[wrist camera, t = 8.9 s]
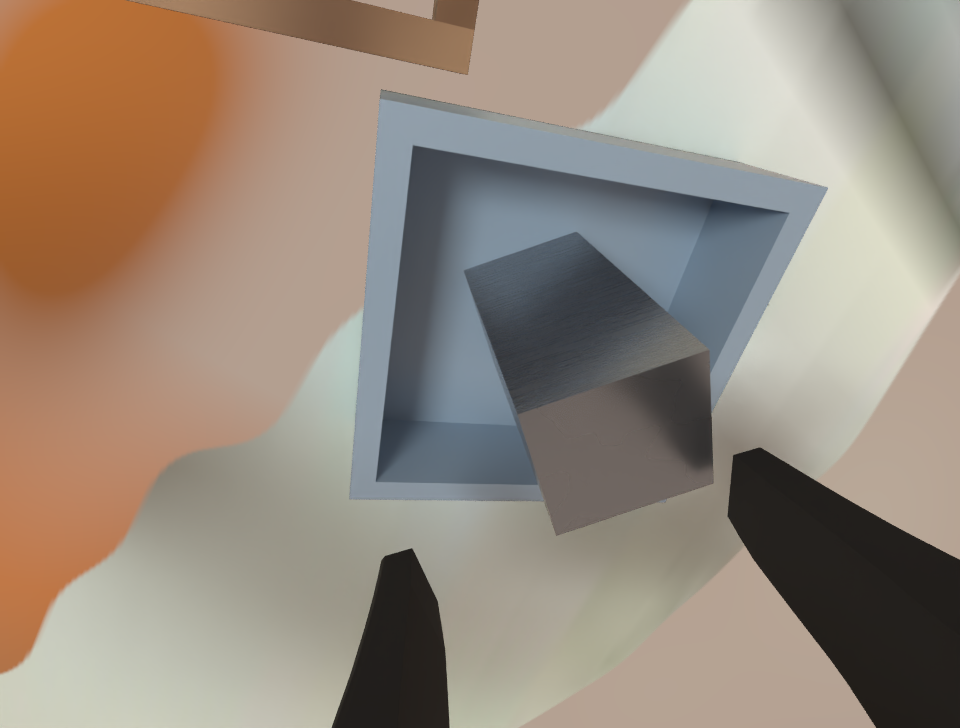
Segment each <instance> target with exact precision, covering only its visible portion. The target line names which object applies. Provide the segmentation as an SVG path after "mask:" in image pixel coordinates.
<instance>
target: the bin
mask: <svg viewBox="0 0 960 728" xmlns="http://www.w3.org/2000/svg"><path fill="white" fill-rule="evenodd" d="M827 189H828V188H827V187H824V186H820V185H817V184H813V183H810V182H806V181H803V180H799V179H796V178H792V177H789V176H785V175H782V174H778V173H775V172H771V171H768V170H764V169H761V168H757V167H754V166H750V165H747V164H743V163H740V162H735V161H730V160H726V159H721V158H716V157H711V156H706V155H701V154H696V153H691V152H686V151H681V150H676V149H671V148H667V147H662V146H657V145H652V144H647V143H642V142H637V141H632V140H627V139H622V138H617V137H612V136H608V135H603V134H598V133H593V132H588V131H583V130H578V129H573V128H568V127H563V126H558V125H553V124H549V123H544V122H538V121H533V120H529V119H524V118H518V117H514V116H509V115H504V114H499V113H494V112H490V111H485V110H480V109H475V108H470V107H465V106H460V105H455V104H450V103H445V102H440V101H435V100H430V99H426V98H420V97H416V96H410V95H406V94H401V93H396V92H391V91H386V90H381V94H380V104H379V117H378V131H377V143H376V156H375V169H374V183H373V196H372V209H371V222H370V235H369V248H368V261H367V274H366V288H365V301H364V314H363V327H362V340H361V353H360V366H359V379H358V393H357V406H356V419H355V432H354V445H353V458H352V472H351V485H350V498H349V499H378V500H478V501H544V500H543V497H542V494H541V491H540V489H539V486H538V483H537V480H536V478H535V475H534V472H533V469H532V467H531V464H530V461H529V458H528V456H527V453H526V450H525V447H524V445H523V442H522V439H521V436H520V433H519V431H518V428H517V425H516V422H515V420H514V417H513V414H512V411H511V409H510V406H509V403H508V400H507V398H506V395H505V392H504V389H503V387H502V384H501V381H500V378H499V376H498V373H497V370H496V367H495V364H494V361H493V358H492V355H491V352H490V349H489V346H488V343H487V340H486V337H485V334H484V331H483V328H482V325H481V322H480V319H479V316H478V313H477V310H476V307H475V304H474V301H473V298H472V295H471V292H470V289H469V286H468V283H467V280H466V277H465V274H464V271H463V270H466V269H469V268H471V267H474V266H477V265H480V264H483V263H486V262H489V261H492V260H495V259H498V258H501V257H504V256H506V255H509V254H512V253H515V252H518V251H521V250H524V249H527V248H530V247H533V246H536V245H538V244H541V243H544V242H547V241H550V240H553V239H556V238H559V237H562V236H565V235H568V234H570V233H573V232H576V231H577V232H578V233H579V234H580V235H581V236H582V237H583V238H584V239H586V240H587V241H588V242H589V243H590V244H591V245H592V246H593V247H595V248H596V249H597V250H598V251H599V252H600V253H601V254H602V255H604V256H605V257H606V258H607V259H608V260H609V261H610V262H611V263H613V264H614V265H615V266H616V267H617V268H618V269H619V270H620V271H622V272H623V273H624V274H625V275H626V276H627V277H628V278H629V279H631V280H632V281H633V282H634V283H635V284H636V285H637V286H638V287H640V288H641V289H642V290H643V291H644V292H645V293H646V294H647V295H649V296H650V297H651V298H652V299H653V300H654V301H655V302H656V303H658V304H659V305H660V306H661V307H662V308H663V309H664V310H665V311H667V312H668V313H669V314H670V315H671V316H672V317H673V318H674V319H676V320H677V321H678V322H679V323H680V324H681V325H682V326H683V327H685V328H686V329H687V330H688V331H689V332H690V333H691V334H692V335H694V336H695V337H696V338H697V339H698V340H699V341H700V342H701V343H703V344H704V345H705V346H706V347H707V348H708V349H709V350H710V384H711V413H712V411H713V409H714V407H715V405H716V403H717V401H718V400H719V398H720V396H721V394H722V392H723V390H724V388H725V386H726V384H727V382H728V380H729V378H730V376H731V374H732V373H733V371H734V369H735V367H736V365H737V363H738V361H739V359H740V357H741V355H742V353H743V351H744V349H745V348H746V346H747V344H748V342H749V340H750V338H751V336H752V334H753V332H754V330H755V328H756V326H757V324H758V322H759V321H760V319H761V317H762V315H763V313H764V311H765V309H766V307H767V305H768V303H769V301H770V299H771V297H772V295H773V294H774V292H775V290H776V288H777V286H778V284H779V282H780V280H781V278H782V276H783V274H784V272H785V270H786V268H787V267H788V265H789V263H790V261H791V259H792V257H793V255H794V253H795V251H796V249H797V247H798V245H799V243H800V241H801V240H802V238H803V236H804V234H805V232H806V230H807V228H808V226H809V224H810V222H811V220H812V218H813V216H814V214H815V213H816V211H817V209H818V207H819V205H820V203H821V201H822V199H823V197H824V195H825V193H826V191H827ZM666 500H667V499H665V500H662V501H659V502H666Z"/></svg>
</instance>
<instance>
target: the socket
mask: <svg viewBox="0 0 960 728" xmlns="http://www.w3.org/2000/svg"><path fill="white" fill-rule="evenodd" d="M127 1H132V2H137V3H141V4H146V5H150V6H155V7H159V8H164V9H169V10H173V11H177V12H182V13H187V14H191V15H196V16H200V17H205V18H209V19H214V20H219V21H223V22H228V23H233V24H237V25H241V26H246V27H250V28H255V29H260V30H264V31H269V32H274V33H278V34H282V35H287V36H291V37H296V38H301V39H305V40H310V41H314V42H319V43H323V44H328V45H333V46H337V47H342V48H347V49H351V50H356V51H360V52H365V53H369V54H374V55H379V56H383V57H387V58H392V59H396V60H401V61H406V62H410V63H415V64H419V65H424V66H429V67H433V68H438V69H442V70H447V71H451V72H456V73H460V74H466V75H467V74H468V69H469V62H470V56H471V50H472V43H473V36H474V30H475V22H476V16H477V10H478V3H479V0H435V1H434V8H433V18H432V20H431V19H427V18H422V17H418V16H414V15H410V14H406V13H402V12H398V11H394V10H389V9H385V8H381V7H377V6H373V5H369V4H364V3H360V2H356V1H352V0H127Z"/></svg>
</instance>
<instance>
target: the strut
mask: <svg viewBox="0 0 960 728" xmlns="http://www.w3.org/2000/svg"><path fill="white" fill-rule="evenodd" d="M463 271H464V274H465V277H466V280H467V283H468V286H469V289H470V292H471V295H472V298H473V301H474V304H475V307H476V310H477V313H478V316H479V319H480V322H481V325H482V328H483V331H484V334H485V337H486V340H487V343H488V346H489V349H490V352H491V355H492V358H493V361H494V364H495V367H496V370H497V373H498V376H499V378H500V381H501V384H502V387H503V389H504V392H505V395H506V398H507V400H508V403H509V406H510V409H511V411H512V414H513V417H514V420H515V422H516V425H517V428H518V431H519V433H520V436H521V439H522V442H523V445H524V447H525V450H526V453H527V456H528V458H529V461H530V464H531V467H532V469H533V472H534V475H535V478H536V480H537V483H538V486H539V489H540V491H541V494H542V497H543V500H544V502H545V505H546V508H547V511H548V514H549V516H550V519H551V522H552V525H553V527H554V530H555V533H556V536H557V535H560V534H563V533H566V532H569V531H572V530H575V529H578V528H581V527H584V526H587V525H590V524H593V523H596V522H599V521H602V520H605V519H608V518H611V517H614V516H617V515H620V514H623V513H626V512H629V511H632V510H635V509H638V508H641V507H644V506H647V505H650V504H653V503H656V502H659V501H662V500H665V499H668V498H671V497H674V496H677V495H680V494H683V493H686V492H689V491H692V490H695V489H698V488H701V487H704V486H707V485H710V484H713V452H712V418H711V384H710V350H709V349H708V348H707V347H706V346H705V345H704V344H703V343H701V342H700V341H699V340H698V339H697V338H696V337H695V336H694V335H692V334H691V333H690V332H689V331H688V330H687V329H686V328H685V327H683V326H682V325H681V324H680V323H679V322H678V321H677V320H676V319H674V318H673V317H672V316H671V315H670V314H669V313H668V312H667V311H665V310H664V309H663V308H662V307H661V306H660V305H659V304H658V303H656V302H655V301H654V300H653V299H652V298H651V297H650V296H649V295H647V294H646V293H645V292H644V291H643V290H642V289H641V288H640V287H638V286H637V285H636V284H635V283H634V282H633V281H632V280H631V279H629V278H628V277H627V276H626V275H625V274H624V273H623V272H622V271H620V270H619V269H618V268H617V267H616V266H615V265H614V264H613V263H611V262H610V261H609V260H608V259H607V258H606V257H605V256H604V255H602V254H601V253H600V252H599V251H598V250H597V249H596V248H595V247H593V246H592V245H591V244H590V243H589V242H588V241H587V240H586V239H584V238H583V237H582V236H581V235H580V234H579V233H578V232H577V231H576V232H573V233H570V234H568V235H565V236H562V237H559V238H556V239H553V240H550V241H547V242H544V243H541V244H538V245H536V246H533V247H530V248H527V249H524V250H521V251H518V252H515V253H512V254H509V255H506V256H504V257H501V258H498V259H495V260H492V261H489V262H486V263H483V264H480V265H477V266H474V267H471V268H469V269H466V270H463Z"/></svg>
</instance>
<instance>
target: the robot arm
mask: <svg viewBox="0 0 960 728" xmlns="http://www.w3.org/2000/svg"><path fill="white" fill-rule="evenodd" d="M728 518H729V519H730V521H731V523H732V525H733V526H734V528H735V530H736V531H737V533H738V535H739V537H740V538H741V540H742V542H743V543H744V545H745V546H746V548H747V550H748V551H749V553H750V554H751V556H752V558H753V559H754V561H755V562H756V563H757V565H758V566H759V567H760V569H761V570H762V571H763V573H764V574H765V575H766V577H767V578H768V579H769V581H770V582H771V583H772V585H773V586H774V587H775V588H776V590H777V591H778V592H779V594H780V595H781V596H782V598H783V599H784V600H785V601H786V603H787V604H788V605H789V607H790V608H791V609H792V611H793V612H794V613H795V614H796V616H797V617H798V618H799V619H800V621H801V622H802V623H803V625H804V626H805V627H806V629H807V630H808V631H809V632H810V634H811V635H812V636H813V638H814V639H815V640H816V642H817V643H818V644H819V645H820V647H821V648H822V649H823V650H824V652H825V653H826V655H827V656H828V657H829V658H830V660H831V661H832V663H833V664H834V665H835V667H836V668H837V669H838V671H839V672H840V674H841V675H842V676H843V678H844V679H845V681H846V682H847V683H848V685H849V686H850V688H851V690H852V691H853V693H854V694H855V696H856V697H857V699H858V700H859V702H860V703H861V705H862V706H863V708H864V710H865V711H866V713H867V714H868V716H869V717H870V719H871V720H872V722H873V723H874V725H875V726H876V728H960V560H959V559H957V558H955V557H953V556H951V555H949V554H947V553H945V552H943V551H941V550H939V549H937V548H936V547H934V546H932V545H930V544H928V543H926V542H924V541H922V540H920V539H918V538H916V537H914V536H912V535H910V534H908V533H906V532H905V531H903V530H901V529H899V528H897V527H896V526H894V525H892V524H890V523H888V522H886V521H885V520H883V519H881V518H879V517H877V516H876V515H874V514H872V513H870V512H869V511H867V510H865V509H863V508H861V507H860V506H858V505H856V504H854V503H853V502H851V501H849V500H848V499H846V498H844V497H842V496H840V495H839V494H837V493H835V492H834V491H832V490H830V489H829V488H827V487H825V486H824V485H822V484H820V483H819V482H817V481H815V480H814V479H812V478H810V477H809V476H807V475H805V474H804V473H802V472H800V471H799V470H797V469H795V468H794V467H792V466H790V465H789V464H787V463H785V462H784V461H782V460H780V459H779V458H777V457H775V456H774V455H772V454H770V453H769V452H767V451H765V450H764V449H762V448H756V449H753V450H749V451H746V452H743V453H739V454H736V455H733V464H732V474H731V485H730V496H729V506H728ZM332 728H449V709H448V690H447V672H446V656H445V646H444V639H443V633H442V626H441V620H440V613H439V607H438V601H437V599H436V597H435V595H434V593H433V591H432V588H431V586H430V584H429V582H428V580H427V578H426V576H425V574H424V572H423V570H422V568H421V566H420V563H419V561H418V559H417V557H416V555H415V553H414V551H413V549H412V548H411V549H408V550H404V551H401V552H398V553H394V554H391V555H387V556H385V557H384V558H383V559H382V561H381V565H380V570H379V574H378V579H377V583H376V587H375V591H374V595H373V599H372V603H371V607H370V611H369V614H368V618H367V622H366V625H365V629H364V632H363V635H362V639H361V642H360V645H359V649H358V652H357V655H356V658H355V662H354V665H353V668H352V671H351V674H350V677H349V680H348V683H347V686H346V689H345V692H344V694H343V697H342V700H341V703H340V706H339V708H338V711H337V714H336V717H335V720H334V723H333V725H332Z"/></svg>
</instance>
